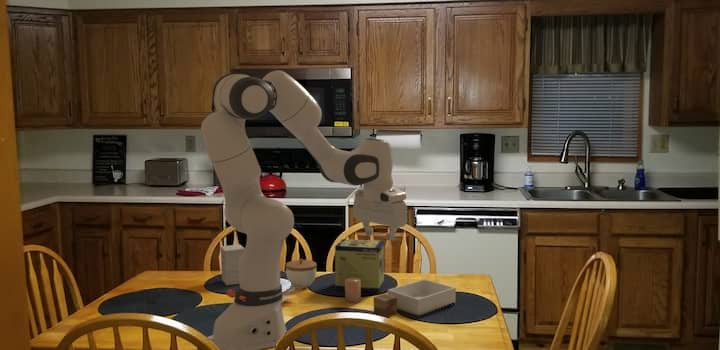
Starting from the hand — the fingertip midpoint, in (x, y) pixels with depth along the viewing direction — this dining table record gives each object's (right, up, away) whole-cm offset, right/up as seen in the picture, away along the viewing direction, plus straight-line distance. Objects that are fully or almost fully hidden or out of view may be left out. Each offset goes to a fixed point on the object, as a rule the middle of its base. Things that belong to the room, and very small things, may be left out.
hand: (379, 237), depth 193 cm
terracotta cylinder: (-8, -22, +13) cm, 27 cm away
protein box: (-6, -20, +29) cm, 35 cm away
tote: (+14, -22, +10) cm, 28 cm away
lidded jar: (-26, -20, +31) cm, 45 cm away
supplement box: (-51, -19, +35) cm, 65 cm away
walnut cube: (+2, -23, +2) cm, 23 cm away
